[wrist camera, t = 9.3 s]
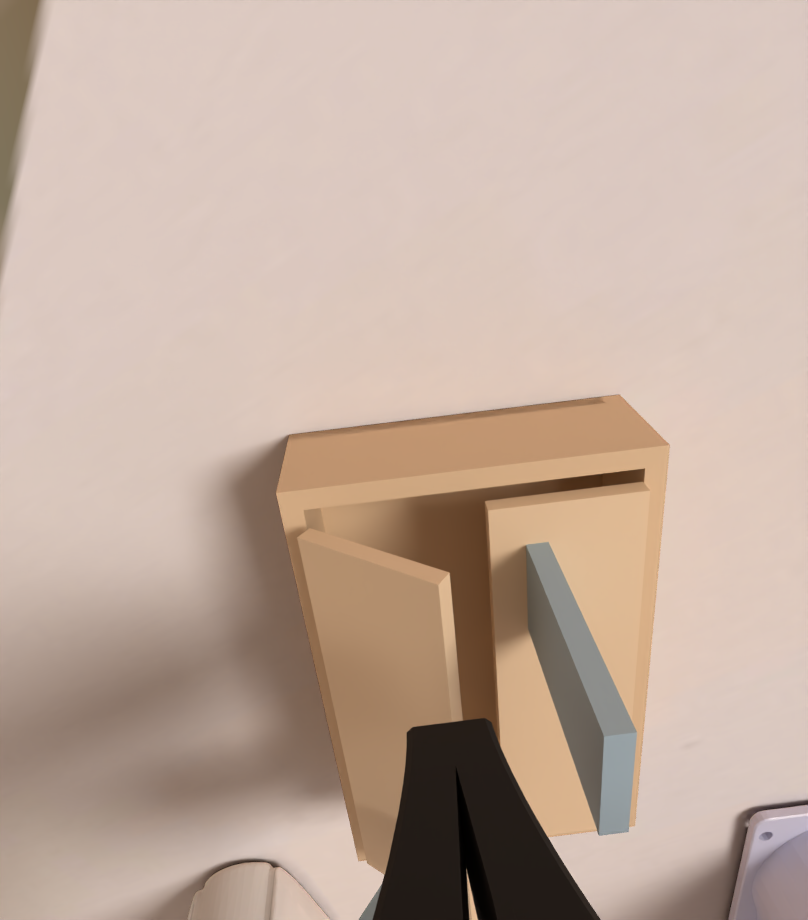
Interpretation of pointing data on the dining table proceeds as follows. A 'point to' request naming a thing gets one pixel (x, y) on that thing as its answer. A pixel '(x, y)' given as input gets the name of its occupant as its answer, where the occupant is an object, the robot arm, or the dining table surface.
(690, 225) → the dining table surface
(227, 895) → the photo printer
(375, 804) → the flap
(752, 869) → the robot arm
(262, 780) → the dining table surface
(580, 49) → the dining table surface
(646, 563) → the carton
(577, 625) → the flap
